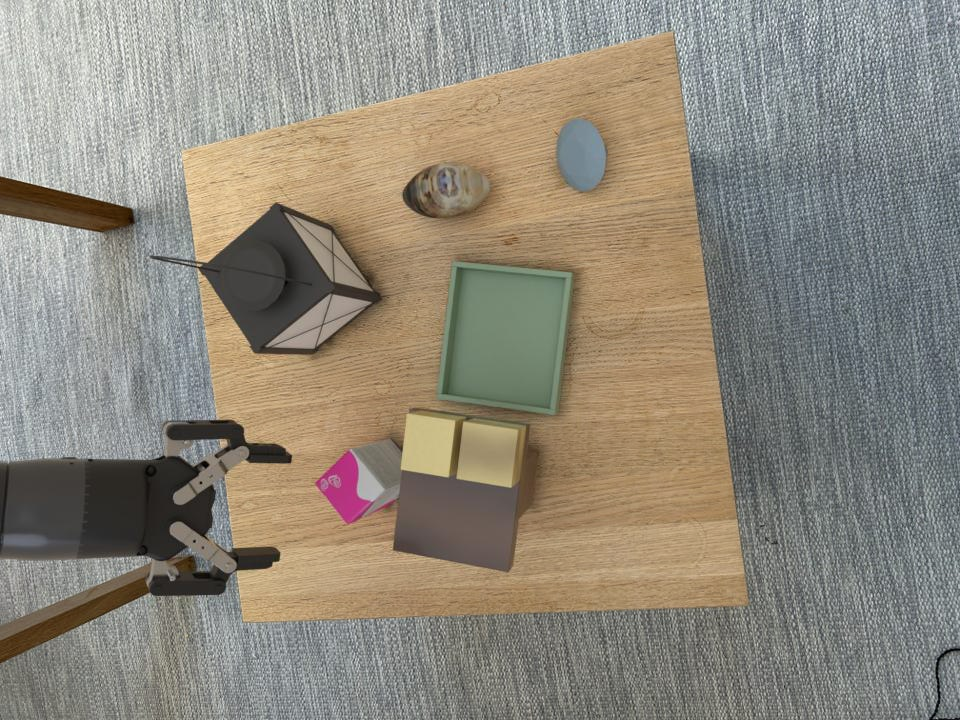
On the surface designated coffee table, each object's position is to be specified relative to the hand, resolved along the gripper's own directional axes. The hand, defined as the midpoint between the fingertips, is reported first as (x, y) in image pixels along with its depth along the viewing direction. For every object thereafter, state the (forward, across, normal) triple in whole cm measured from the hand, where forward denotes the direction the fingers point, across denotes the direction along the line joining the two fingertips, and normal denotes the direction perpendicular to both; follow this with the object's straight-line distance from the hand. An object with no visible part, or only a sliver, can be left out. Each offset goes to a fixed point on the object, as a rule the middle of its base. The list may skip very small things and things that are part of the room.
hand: (283, 505), depth 67 cm
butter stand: (+27, +4, +5) cm, 28 cm away
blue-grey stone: (+30, +37, +3) cm, 48 cm away
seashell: (+20, +32, +13) cm, 40 cm away
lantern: (+10, +20, +23) cm, 32 cm away
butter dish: (+26, +17, +7) cm, 31 cm away
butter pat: (+9, +8, -9) cm, 15 cm away
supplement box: (+17, 0, +15) cm, 23 cm away
